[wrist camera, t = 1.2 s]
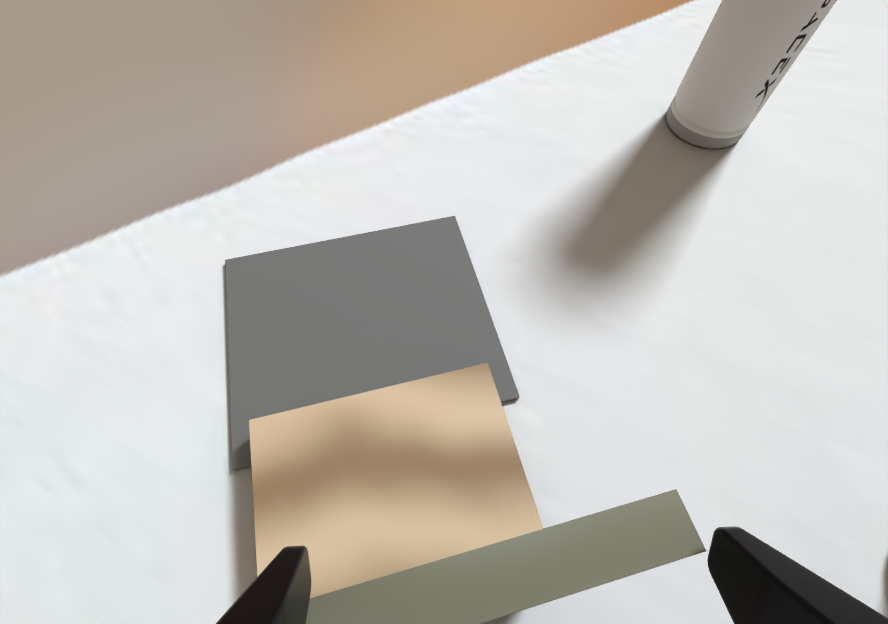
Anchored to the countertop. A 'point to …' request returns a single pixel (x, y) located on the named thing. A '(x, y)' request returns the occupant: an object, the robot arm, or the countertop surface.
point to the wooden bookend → (434, 509)
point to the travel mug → (740, 67)
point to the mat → (353, 321)
